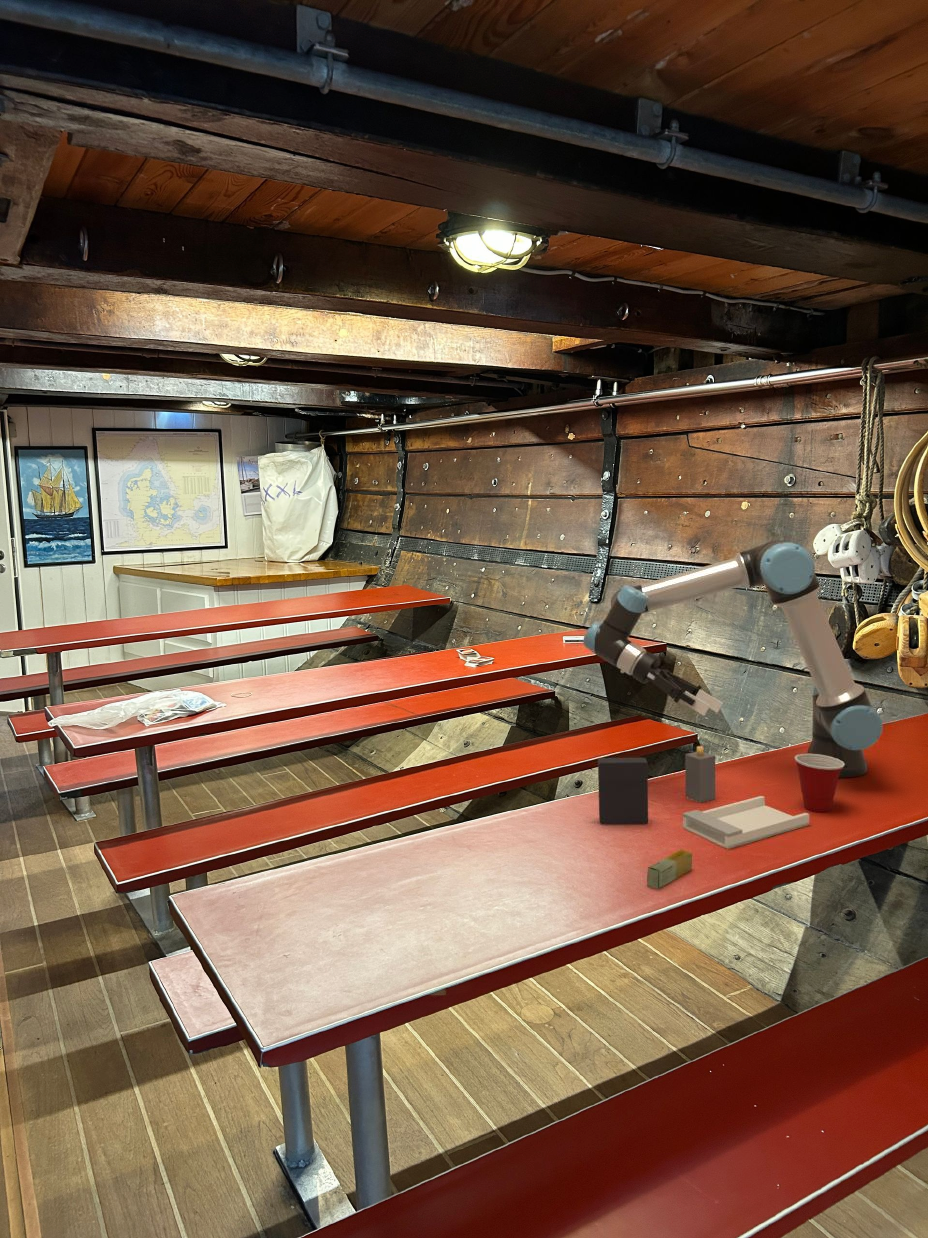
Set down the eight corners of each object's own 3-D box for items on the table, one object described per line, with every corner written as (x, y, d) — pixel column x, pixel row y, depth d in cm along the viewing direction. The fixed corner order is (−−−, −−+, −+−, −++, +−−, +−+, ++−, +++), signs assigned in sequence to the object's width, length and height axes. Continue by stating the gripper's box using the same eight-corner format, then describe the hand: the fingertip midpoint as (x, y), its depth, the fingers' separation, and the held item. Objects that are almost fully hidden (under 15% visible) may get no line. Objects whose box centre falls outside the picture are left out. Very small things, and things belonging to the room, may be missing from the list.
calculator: (646, 818, 199) (645, 756, 197) (648, 825, 195) (647, 762, 193) (599, 818, 200) (597, 757, 198) (600, 825, 196) (598, 762, 194)
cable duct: (761, 806, 203) (761, 792, 203) (809, 825, 191) (809, 810, 191) (683, 827, 193) (682, 813, 192) (728, 849, 180) (728, 834, 180)
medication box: (657, 891, 164) (658, 871, 163) (646, 886, 166) (646, 867, 165) (692, 870, 172) (692, 852, 171) (680, 866, 174) (681, 848, 173)
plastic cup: (851, 816, 195) (852, 765, 194) (804, 817, 196) (804, 767, 194) (832, 799, 206) (833, 751, 204) (787, 800, 206) (787, 752, 205)
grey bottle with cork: (701, 793, 214) (700, 743, 212) (715, 799, 209) (715, 748, 208) (685, 797, 212) (685, 746, 210) (699, 803, 207) (699, 751, 205)
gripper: (647, 675, 226) (717, 719, 217) (615, 677, 204) (692, 726, 195) (661, 651, 224) (732, 694, 215) (631, 650, 203) (709, 698, 193)
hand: (714, 709), depth 205 cm, fingers open, 13 cm apart
